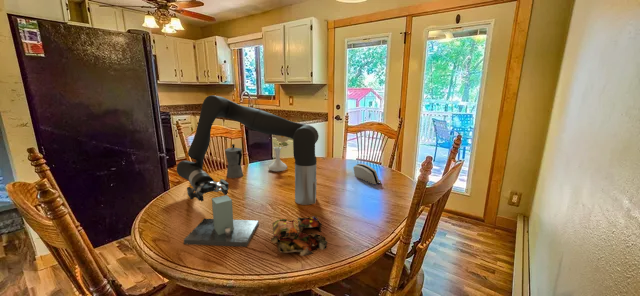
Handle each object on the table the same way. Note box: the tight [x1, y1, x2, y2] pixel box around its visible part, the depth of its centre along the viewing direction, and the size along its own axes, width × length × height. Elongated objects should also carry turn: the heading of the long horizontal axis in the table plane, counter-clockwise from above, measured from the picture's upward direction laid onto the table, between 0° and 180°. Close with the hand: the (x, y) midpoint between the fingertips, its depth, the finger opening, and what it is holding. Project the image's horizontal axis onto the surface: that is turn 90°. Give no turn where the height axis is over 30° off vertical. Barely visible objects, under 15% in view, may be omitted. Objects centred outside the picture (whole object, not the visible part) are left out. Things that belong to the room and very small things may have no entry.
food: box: [270, 215, 328, 256], centre depth 89 cm, size 22×19×4 cm
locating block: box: [211, 194, 234, 235], centre depth 89 cm, size 5×5×11 cm
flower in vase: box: [268, 135, 289, 172], centre depth 157 cm, size 13×11×25 cm
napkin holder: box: [353, 163, 382, 185], centre depth 145 cm, size 17×5×10 cm, turn 31°
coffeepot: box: [224, 143, 244, 179], centre depth 146 cm, size 15×9×18 cm, turn 43°
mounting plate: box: [183, 218, 260, 248], centre depth 90 cm, size 20×14×4 cm
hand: (214, 195), depth 97 cm, fingers open, 8 cm apart
